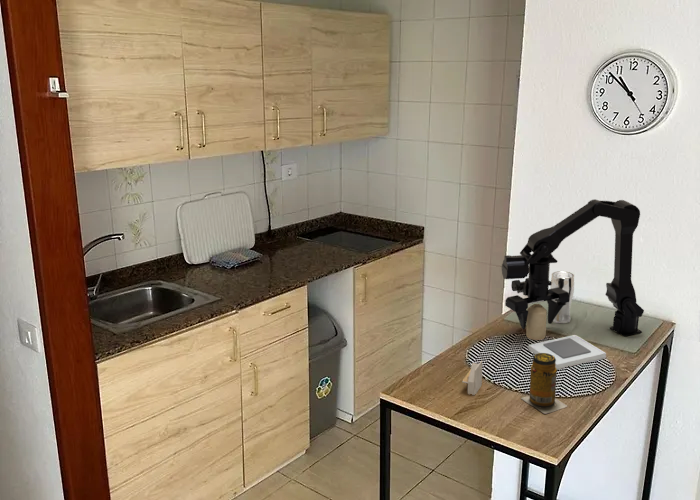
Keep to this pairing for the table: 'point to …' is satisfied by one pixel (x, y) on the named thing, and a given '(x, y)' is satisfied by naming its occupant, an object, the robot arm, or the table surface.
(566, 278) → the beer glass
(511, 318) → the table surface
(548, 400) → the condiment
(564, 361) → the white flat block
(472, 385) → the architectural model
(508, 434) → the table surface
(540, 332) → the candle
